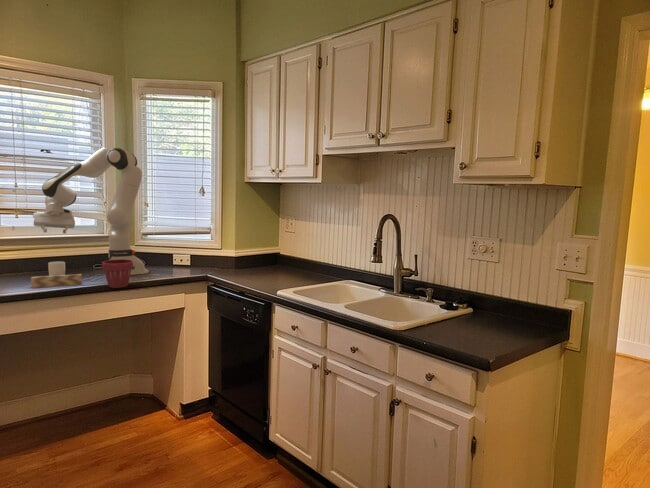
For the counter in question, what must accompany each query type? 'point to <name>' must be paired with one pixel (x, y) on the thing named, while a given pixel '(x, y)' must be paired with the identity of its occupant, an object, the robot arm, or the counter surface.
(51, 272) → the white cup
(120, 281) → the plant pot
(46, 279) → the end stop
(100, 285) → the counter surface
